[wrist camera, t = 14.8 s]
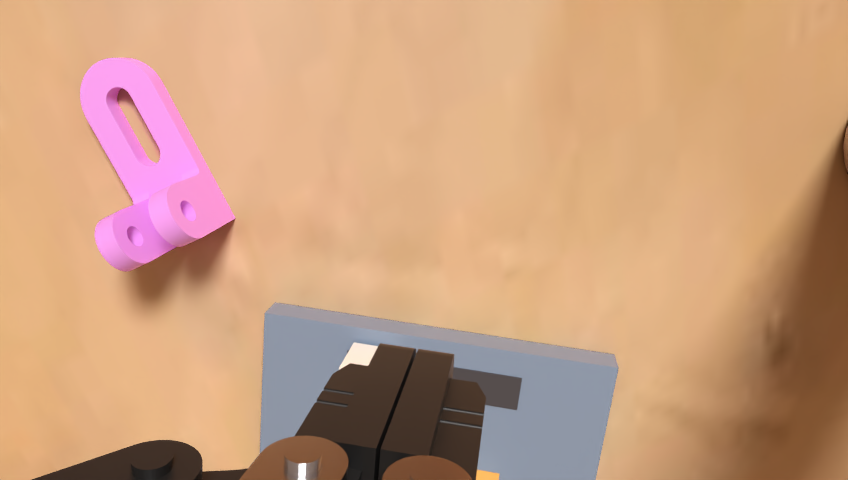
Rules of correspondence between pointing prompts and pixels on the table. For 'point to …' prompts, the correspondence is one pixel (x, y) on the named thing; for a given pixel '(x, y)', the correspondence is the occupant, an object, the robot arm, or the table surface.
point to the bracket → (149, 168)
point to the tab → (359, 354)
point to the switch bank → (473, 361)
